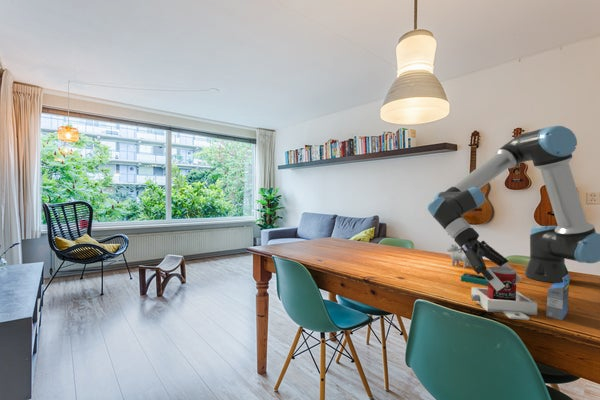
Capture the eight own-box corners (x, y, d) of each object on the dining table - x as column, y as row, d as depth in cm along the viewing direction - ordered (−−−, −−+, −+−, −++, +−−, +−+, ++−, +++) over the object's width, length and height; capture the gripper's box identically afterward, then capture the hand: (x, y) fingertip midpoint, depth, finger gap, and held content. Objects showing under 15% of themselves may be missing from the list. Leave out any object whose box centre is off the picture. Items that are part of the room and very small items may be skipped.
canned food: (493, 305, 94) (493, 271, 93) (483, 297, 101) (484, 265, 101) (520, 308, 92) (521, 272, 92) (509, 299, 100) (509, 267, 99)
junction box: (513, 296, 106) (514, 286, 106) (554, 322, 84) (554, 309, 84) (460, 292, 109) (461, 283, 109) (486, 316, 87) (486, 304, 87)
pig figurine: (450, 262, 160) (450, 243, 160) (473, 267, 149) (473, 246, 149) (444, 263, 158) (444, 243, 158) (467, 268, 147) (467, 247, 147)
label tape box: (551, 309, 93) (552, 270, 93) (569, 313, 90) (569, 273, 90) (545, 316, 88) (546, 275, 88) (563, 321, 85) (564, 278, 84)
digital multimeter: (464, 278, 130) (464, 271, 130) (505, 285, 120) (505, 278, 120) (459, 281, 125) (459, 274, 125) (500, 289, 115) (500, 282, 115)
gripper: (471, 237, 116) (515, 284, 104) (436, 242, 101) (483, 298, 89) (486, 224, 112) (534, 273, 100) (452, 228, 97) (503, 285, 85)
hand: (510, 285), depth 94 cm, fingers open, 13 cm apart
